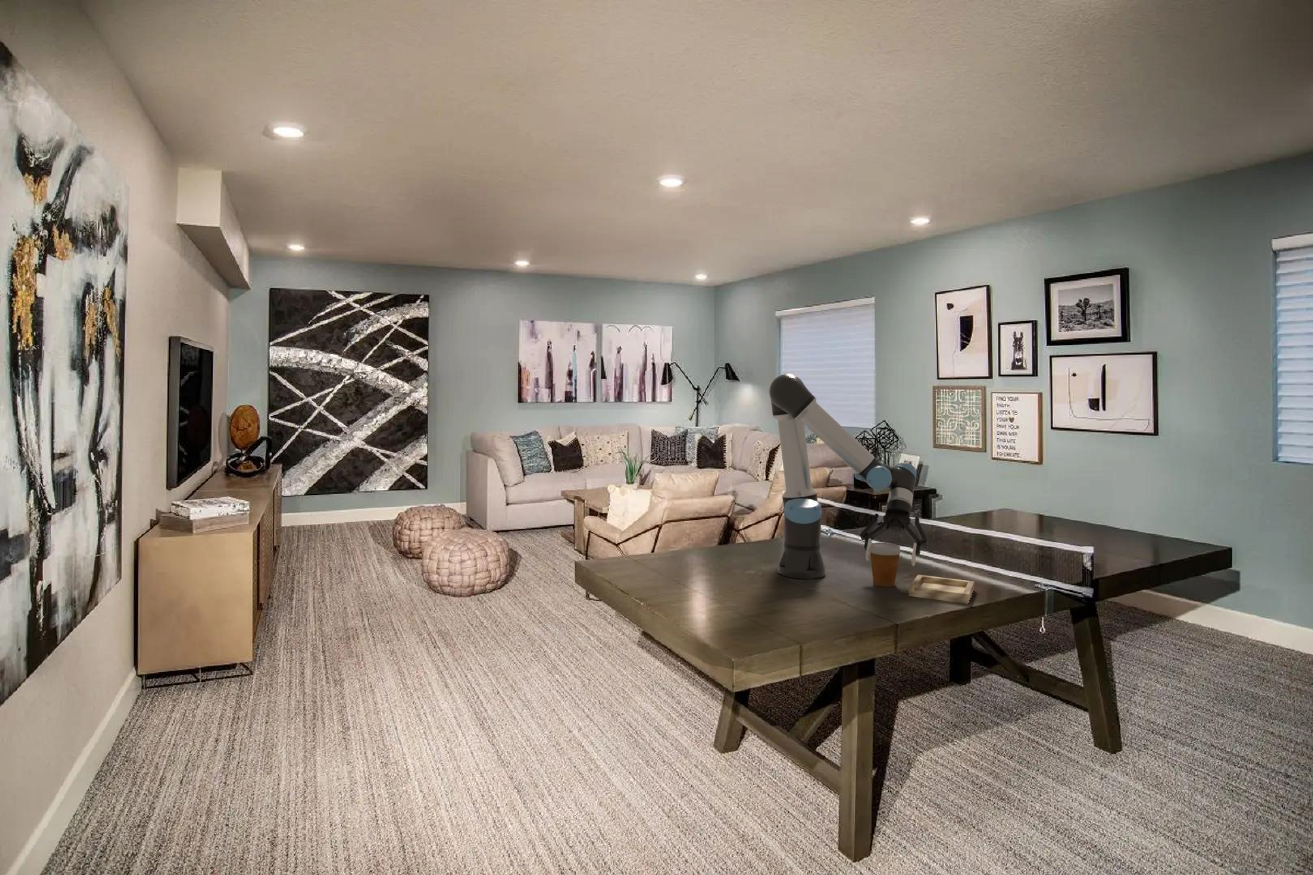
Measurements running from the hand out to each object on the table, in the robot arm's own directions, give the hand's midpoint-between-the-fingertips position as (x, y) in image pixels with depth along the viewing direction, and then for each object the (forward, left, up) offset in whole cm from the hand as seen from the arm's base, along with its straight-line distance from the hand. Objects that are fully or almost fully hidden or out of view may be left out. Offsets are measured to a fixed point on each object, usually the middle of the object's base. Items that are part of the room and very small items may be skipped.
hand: (889, 560), depth 228 cm
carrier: (+16, -3, -7) cm, 17 cm away
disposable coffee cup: (-1, -1, -7) cm, 8 cm away
